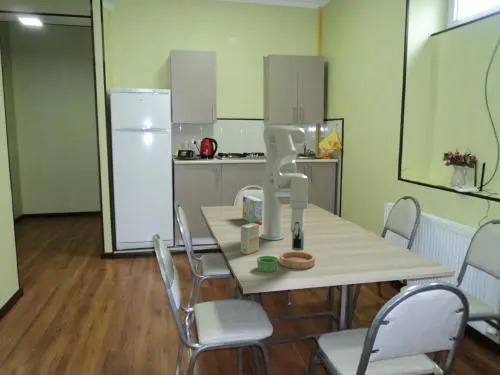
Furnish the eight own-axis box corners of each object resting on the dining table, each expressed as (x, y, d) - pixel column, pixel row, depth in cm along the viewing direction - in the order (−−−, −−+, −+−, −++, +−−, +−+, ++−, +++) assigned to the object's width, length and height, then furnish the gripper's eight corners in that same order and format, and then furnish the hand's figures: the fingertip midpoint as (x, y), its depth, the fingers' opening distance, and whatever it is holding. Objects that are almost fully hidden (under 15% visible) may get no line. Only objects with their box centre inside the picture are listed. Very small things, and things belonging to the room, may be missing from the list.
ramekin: (265, 274, 162) (265, 263, 161) (252, 268, 169) (252, 257, 169) (282, 270, 167) (283, 259, 166) (269, 264, 174) (269, 254, 174)
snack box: (262, 224, 247) (263, 200, 245) (254, 225, 245) (254, 200, 243) (249, 217, 266) (250, 195, 264) (241, 218, 264) (242, 195, 262)
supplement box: (251, 249, 196) (251, 222, 194) (259, 251, 193) (259, 224, 191) (240, 253, 189) (240, 225, 187) (247, 255, 186) (248, 227, 184)
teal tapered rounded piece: (292, 247, 178) (293, 229, 176) (304, 247, 176) (304, 229, 175) (291, 250, 173) (291, 231, 172) (303, 251, 172) (303, 232, 171)
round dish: (282, 256, 185) (282, 250, 184) (315, 259, 181) (316, 252, 181) (277, 267, 170) (277, 260, 170) (313, 270, 167) (313, 263, 166)
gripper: (292, 200, 181) (291, 240, 183) (287, 207, 165) (286, 251, 167) (309, 201, 179) (308, 241, 182) (306, 208, 163) (304, 252, 165)
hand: (297, 245), depth 174 cm, fingers closed on teal tapered rounded piece, 5 cm apart
